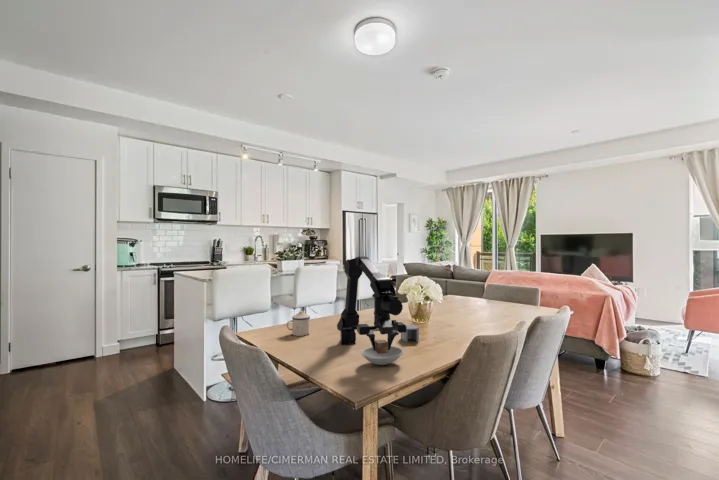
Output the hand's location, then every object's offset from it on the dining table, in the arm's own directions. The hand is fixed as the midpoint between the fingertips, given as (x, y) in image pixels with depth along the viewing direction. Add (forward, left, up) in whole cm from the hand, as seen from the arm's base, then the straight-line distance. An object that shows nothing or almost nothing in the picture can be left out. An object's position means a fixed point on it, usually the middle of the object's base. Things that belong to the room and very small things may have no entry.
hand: (381, 350), depth 134 cm
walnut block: (0, 0, -1) cm, 1 cm away
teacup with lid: (-30, +49, -6) cm, 58 cm away
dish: (0, 0, -6) cm, 6 cm away
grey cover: (+22, +28, -6) cm, 36 cm away
